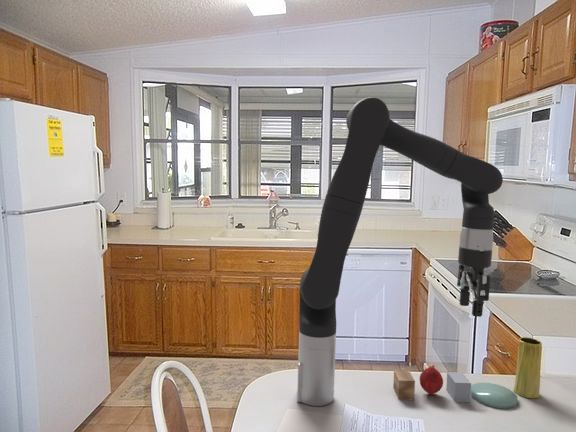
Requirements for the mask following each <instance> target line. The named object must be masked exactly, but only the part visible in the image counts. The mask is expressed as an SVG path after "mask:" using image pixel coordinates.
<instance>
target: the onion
mask: <svg viewBox="0 0 576 432" xmlns="http://www.w3.org/2000/svg"><path fill="white" fill-rule="evenodd" d="M443 379H444V378H443V376H442V374H441V372H440V371H439V370H438V369H436V367H435V364H433V363H432V364H430V365H429V367H427V368H425V369H423V370H422V372H421V373H420V375H419V384H420V387H421V388H422V389H423V390H424V391H425V393H426V394H428V395H431V396H432V395H434V394H436V393H438V392H440V391H441V390H442V388H443V385H444V380H443Z"/></svg>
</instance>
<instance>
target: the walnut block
mask: <svg viewBox="0 0 576 432" xmlns="http://www.w3.org/2000/svg"><path fill="white" fill-rule="evenodd" d="M392 385H393V387H392V388H393V389H394V393H395V395H396V397H397V399H398V400H411V401H413V400H415V392H416V391H415V390H416V389H415V388H416V380H415V378H414V377H413V375H412V373H411V371H410V370H406V369H405V370H403V369H401V370H400V369H394V370H393V384H392Z"/></svg>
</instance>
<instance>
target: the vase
mask: <svg viewBox="0 0 576 432" xmlns="http://www.w3.org/2000/svg"><path fill="white" fill-rule="evenodd" d="M542 347H543V343H542V341H541V340H539V339H535V338H534V337H528V336H525V337H524V336H523V337H519V340H518V348H517V359H516V360H517V361H516V366H515V367H516V368H515V380H514V387H513V392H514V393H515V394H516V395H518V396H520V397H523V398H526V399H537V398H539V397H540V395H541V394H540V389H541V387H540V386H541V367H542V366H541V364H542V361H541V360H542Z"/></svg>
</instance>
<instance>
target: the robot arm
mask: <svg viewBox="0 0 576 432" xmlns="http://www.w3.org/2000/svg"><path fill="white" fill-rule="evenodd" d="M345 120H346V127H347V129H348V133H347V137H346V143H345V147H344V150H343V154H342V156H341V159H340V160H339V163H338V165H337V167H336V169H335V171H334V173H333V176H332V178H331V180H330V183H329V185H328V187H327V188H328V189H327V191H326V195H325V198H324V202H323V205H322V209H321V213H320V218H319V225H318V233H317V242H316V247H315V250H314V251H315V252H314V254H313V258H312V261H311V262H310V265H309V267H308V268H307V269H306V270H304V272H303V273H302V276H301V277H300V282H299V308H298V309H299V310H298V311H299V312H298V313H299V317H298V319H299V320H298V325H299V327H298V329H299V330H298V334H299V335H298V359H297V389H296V390H297V395H296V396H297V398H296V399H297V400H296V402H297V403H303V404H305V405H309V406H313V407H321V406H328V405H329V404H331V403H332V402H333V401H334V398H335V397H334V396H335V373H336V372H335V371H336V349H337V348H336V344H337V343H336V342H337V313H336V310H337V309H336V307H337V305H336V304H337V298H338V296H339V292H340V286H341V282H342V281H341V280H342V275H343V270H344V265H345V260H346V257H347V254H348V251H349V248H350V246H351V243H352V241H353V238H354V235H355V232H356V230H357V227H358V224H359V221H360V218H361V215H362V211H363V207H364V204H365V200H366V198H367V197H366V195H367V192H368V188H369V183H370V180H371V176H372V171H373V166H374V161H375V159H376V155H377V154H378V150H379V149H380V146H382V147H384V148H387V149H389V150H391V151H394V152H395V153H398V154H400V155H402V156H405V157H406V158H408V159H410V160H411V161H413V162H415V163H416V164H419V165H421V166H423V167H425V168H427V169H428V170H430V171H432V172H434V173H436V174H438V175H440V176H442V177H444V178H447V179H450V180H455V181H457V182H459V183H460V190H461V191H460V192H461V201H462V205H463V206H462V207H463V212H462V222H461V231H460V235H459V243H458V244H459V245H458V246H459V247H458V255H457V257H458V259H457V263H458V264H459V265H458V272H457V273H458V274H457V282H456V283H457V284H456V286H457V287H459V291H460V293H459V305H460V306H461V307H469V305H470V295H471V293H472V308H471V315H472V317H482V316H483V310H484V302H488V301H489V300H490V285H491V284H490V282H491V281H490V280H491V277H490V276H491V275H488V274H487V275H486V274H485V273H484V272H485V269H486V268H487V269H488V268H490V267H491V266H492V258H493V257H492V256H493V246H494V222H495V209H494V207H493V206H492V205H491V204H490V199H489V198H490V196H489V195H490V194H494V193H495V192H498V191H499V190H500V188H501V187H502V185H503V182H504V180H503V179H504V178H503V177H504V176H503V174H502V172H501V171H500V169H499V168H498V167H496V166H495V165H493V164H492V163H489V162H488V161H485V160H482V159H479V158H477V157H474V156H472V155H469V154H466V153H464V152H461V151H460V150H459V149H457V148H455V147H452V146H451V145H449V144H447V143H445V142H443V141H441V140H439V139H436V138H434V137H431V136H429V135H426V134H423V133H421V132H420V133H419V132H417V131H414V130H411V129H409V128H407V127H404V126H403V125H400V124H399V123H397V122H396V121H394V120H392V119H391V118H390V112H389V109H388V106H387V105H386V103H385V102H384V101H383V100H382V99H380V98H379V97H373V96H372V97H371V96H370V97H366V98H363V99H360V100H359V101H357V102H356V103H355V104H354V105H353V106H352V107H351V108H350V110H349V111H348V113H347V116H346V119H345Z"/></svg>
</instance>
